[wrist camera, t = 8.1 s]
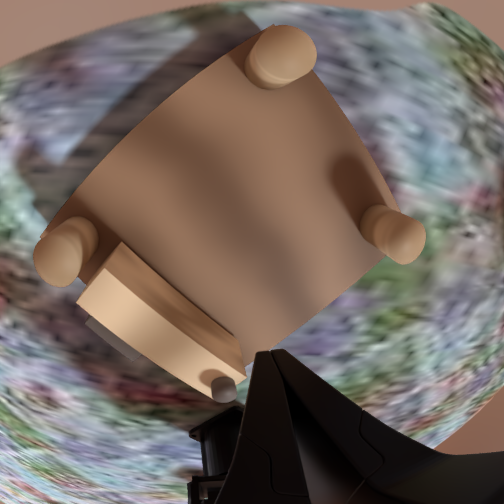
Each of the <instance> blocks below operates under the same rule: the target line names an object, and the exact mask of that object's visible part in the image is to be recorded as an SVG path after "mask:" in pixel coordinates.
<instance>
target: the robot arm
mask: <svg viewBox="0 0 504 504" xmlns="http://www.w3.org/2000/svg"><path fill="white" fill-rule="evenodd" d="M189 437H190V438H192V439H194V440H196V441H199V442H200V443H201V454H202V464H203V474H204V476H198V475H195V476H192V482H189V483H187V489H188V504H504V451H500V452H491V453H480V454H467V455H450V454H445V453H441V452H438V451H436V450H433V449H431V448H429V447H427V446H425V445H423V444H421V443H419V442H417V441H415V440H413V439H411V438H409V437H407V436H405V435H403V434H402V433H400V432H398V431H396V430H394V429H393V428H391V427H389V426H387V425H386V424H384V423H383V422H381V421H380V420H378V419H377V418H375V417H374V416H372V415H371V414H369V413H368V412H367V411H365V410H363V411H362V408H361V407H359V406H358V405H357V404H355V403H354V402H353V401H351V400H350V399H349V398H347V397H346V396H344V395H343V394H342V393H340V392H339V391H338V390H336V389H335V388H334V387H332V386H331V385H330V384H328V383H327V382H326V381H324V380H323V379H322V378H321V377H319V376H318V375H317V374H315V373H314V372H313V371H311V370H310V369H309V368H308V367H306V366H305V365H304V364H302V363H301V362H300V361H299V360H297V359H296V358H295V357H293V356H292V355H291V354H290V353H288V352H287V351H286V350H285V349H275V350H271V351H268V350H266V351H258V352H256V354H255V359H254V364H253V369H252V374H251V379H250V384H249V389H248V394H247V399H246V403H245V408H244V410H243V409H241V408H240V407H236V406H235V407H232V408H230V409H228V410H227V411H225V412H223V413H222V414H220V415H218V416H216V417H215V418H213V419H211V420H209V421H208V422H206V423H204V424H202V425H200V426H198V427H197V428H195V429H193V430H191V431H189ZM204 498H208V499H204Z"/></svg>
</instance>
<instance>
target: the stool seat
mask: <svg viewBox="0 0 504 504" xmlns="http://www.w3.org/2000/svg"><path fill="white" fill-rule="evenodd" d="M316 58H317V53H316V48H315V45H314V43H313V41H312V40H311V38H310V37H309V36H308V35H307V34H306V33H305V32H303V31H302V30H300V29H298V28H296V27H293V26H288V25H278V26H275V25H274V24H273V25H271V26H269V27H268V28H266V29H264V30H263V31H261V32H259V33H258V34H256V35H254V36H253V37H251V38H249V39H248V40H246V41H245V42H243V43H242V44H240V45H238V46H237V47H235V48H234V49H232V50H231V51H229V52H228V53H226V54H225V55H223V56H222V57H221V58H219V59H218V60H216V61H215V62H213V63H212V64H211V65H209V66H208V67H207V68H205V69H204V70H202V71H201V72H200V73H198V74H197V75H196V76H194V77H193V78H192V79H191V80H189V81H188V82H187V83H185V84H184V85H183V86H182V87H180V88H179V89H178V90H177V91H175V92H174V93H173V94H172V95H171V96H169V97H168V98H167V99H166V100H165V101H164V102H162V103H161V104H160V105H159V106H158V107H157V108H155V109H154V110H153V111H152V112H151V113H150V114H149V115H148V116H146V117H145V118H144V119H143V120H142V121H141V122H140V123H139V124H138V125H137V126H136V127H135V128H134V129H132V130H131V131H130V132H129V133H128V134H127V135H126V136H125V137H124V138H123V139H122V140H121V141H120V142H119V143H118V144H117V145H116V146H115V147H114V148H113V149H112V150H111V151H110V152H109V153H108V155H107V156H106V157H105V158H104V159H103V160H102V161H101V162H100V163H99V164H98V165H97V166H96V167H95V169H94V170H93V171H92V172H91V173H90V174H89V175H88V176H87V178H86V179H85V180H84V181H83V182H82V183H81V185H80V186H79V187H78V188H77V189H76V190H75V192H74V193H73V194H72V195H71V197H70V198H69V199H68V200H67V201H66V203H65V204H64V205H63V207H62V208H61V209H60V210H59V212H58V213H57V214H56V216H55V217H54V218H53V220H52V221H51V222H50V224H49V225H48V226H47V228H46V229H45V230H44V232H43V233H42V235H41V236H40V238H41V240H40V241H39V242H38V243H37V244H36V246H35V249H34V253H33V260H34V265H35V268H36V270H37V272H38V274H39V275H40V276H41V278H42V279H43V280H44V281H46V282H47V283H48V284H50V285H52V286H56V287H65V286H68V285H70V284H71V283H72V282H73V281H74V280H75V278H76V277H77V276H78V277H79V278H80V279H81V280H82V281H83V282H84V283H85V284H86V285H87V284H88V282H89V281H90V279H91V278H92V276H93V275H94V273H95V272H96V271H97V269H98V268H99V267H100V266H101V265H102V263H103V262H104V261H105V260H106V259H107V258H108V256H109V255H110V254H111V253H112V252H113V251H114V249H115V248H116V247H117V246H118V245H119V244H120V243H121V242H123V243H124V244H125V245H126V246H127V247H128V248H129V249H130V250H131V251H132V252H133V253H135V254H136V255H137V256H138V257H139V258H140V259H141V260H142V261H143V262H144V263H146V264H147V265H148V266H149V267H150V268H151V269H152V270H153V271H155V272H156V273H157V274H158V275H159V276H160V277H161V278H163V279H164V280H165V281H166V282H167V283H168V284H169V285H171V286H172V287H173V288H174V289H175V290H176V291H178V292H179V293H180V294H181V295H182V296H184V297H185V298H186V299H187V300H188V301H190V302H191V303H192V304H193V305H194V306H196V307H197V308H198V309H199V310H200V311H202V312H203V313H204V314H205V315H207V316H208V317H209V318H210V319H212V320H213V321H214V322H215V323H217V324H218V325H219V326H220V327H222V328H223V329H224V330H226V331H227V332H228V333H229V334H231V335H232V336H233V337H235V338H236V339H237V340H238V341H239V346H240V350H241V354H242V359H243V363H244V367H245V366H247V365H248V364H250V363H251V362H253V361H254V359H255V354H256V352H258V351H266V350H270V349H271V348H272V347H274V346H275V345H276V344H278V343H279V342H281V341H282V340H283V339H285V338H286V337H287V336H289V335H290V334H291V333H293V332H294V331H295V330H297V329H298V328H299V327H301V326H302V325H303V324H304V323H306V322H307V321H308V320H310V319H311V318H312V317H313V316H315V315H316V314H317V313H319V312H320V311H321V310H322V309H324V308H325V307H326V306H327V305H329V304H330V303H331V302H332V301H333V300H335V299H336V298H337V297H338V296H340V295H341V294H342V293H343V292H344V291H346V290H347V289H348V288H349V287H350V286H352V285H353V284H354V283H355V282H356V281H357V280H359V279H360V278H361V277H362V276H363V275H364V274H366V273H367V272H368V271H369V270H370V269H371V268H372V267H374V266H375V265H376V264H377V263H378V262H379V261H380V260H381V259H383V258H384V257H385V256H386V255H387V256H389V257H390V258H391V259H393V260H394V261H396V262H397V263H399V264H408V263H411V262H412V261H414V260H415V259H416V258H417V257H418V256H419V255H420V253H421V251H422V250H423V247H424V244H425V239H426V234H425V229H424V227H423V225H422V224H421V223H420V222H419V221H417V220H415V219H413V218H411V217H409V216H406V215H404V214H402V213H401V211H400V209H399V207H398V205H397V203H396V201H395V199H394V197H393V195H392V193H391V192H390V190H389V188H388V186H387V184H386V182H385V180H384V178H383V177H382V175H381V173H380V171H379V169H378V168H377V166H376V164H375V162H374V161H373V159H372V157H371V156H370V154H369V152H368V151H367V149H366V147H365V146H364V144H363V142H362V141H361V139H360V137H359V136H358V134H357V133H356V131H355V130H354V128H353V126H352V125H351V123H350V122H349V120H348V119H347V117H346V116H345V114H344V113H343V111H342V110H341V108H340V107H339V105H338V104H337V103H336V101H335V100H334V98H333V97H332V95H331V94H330V93H329V91H328V90H327V89H326V87H325V86H324V84H323V83H322V82H321V80H320V79H319V78H318V76H317V75H316V74H315V73H314V71H313V70H312V68H313V67H314V65H315V62H316ZM85 324H86V325H87V326H88V327H89V328H90V329H91V330H93V331H94V332H95V333H96V334H97V335H99V336H100V337H101V338H102V339H104V340H105V341H106V342H107V343H109V344H110V345H111V346H112V347H114V348H115V349H116V350H118V351H119V352H120V353H121V354H123V355H124V356H125V357H127V358H128V359H129V360H131V361H132V362H134V361H135V360H136V359H137V358H139V357H140V356H141V355H142V354H141V353H140V352H138V351H137V350H136V349H134V348H133V347H131V346H130V345H129V344H127V343H126V342H125V341H123V340H122V339H121V338H119V337H118V336H117V335H115V334H114V333H113V332H111V331H110V330H109V329H108V328H106V327H105V326H104V325H103V324H101V323H100V322H99V321H98V320H96V319H95V318H94V317H93V316H91V315H90V314H89V316H88V318H87V320H86V322H85Z"/></svg>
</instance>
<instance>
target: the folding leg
mask: <svg viewBox="0 0 504 504" xmlns="http://www.w3.org/2000/svg"><path fill="white" fill-rule="evenodd" d="M76 303H77V304H78V305H79V306H81V307H82V308H83V309H84V310H85V311H87V312H88V313H89V314H90V315H91V316H93V317H94V318H95V319H96V320H98V321H99V322H100V323H101V324H103V325H104V326H105V327H106V328H108V329H109V330H110V331H111V332H113V333H114V334H115V335H117V336H118V337H119V338H121V339H122V340H123V341H125V342H126V343H127V344H129V345H130V346H131V347H133V348H134V349H136V350H137V351H138V352H140V353H141V354H143V355H144V356H146V357H147V358H148V359H150V360H151V361H153V362H154V363H156V364H157V365H159V366H160V367H162V368H163V369H165V370H166V371H168V372H169V373H171V374H172V375H174V376H176V377H177V378H179V379H180V380H182V381H184V382H185V383H187V384H188V385H190V386H192V387H193V388H195V389H197V390H198V391H200V392H202V393H204V394H205V395H207V396H209V397H210V398H212V399H214V400H215V401H217V402H221V403H226V402H230V401H232V400H234V399H235V398H236V397H237V390H236V385H237V384H239V383H240V382H241V381H243V380H244V379H246V378H247V376H246V371H245V367H244V363H243V359H242V354H241V350H240V346H239V341H238V340H237V339H236V338H235V337H233V336H232V335H231V334H229V333H228V332H227V331H226V330H224V329H223V328H222V327H220V326H219V325H218V324H217V323H215V322H214V321H213V320H212V319H210V318H209V317H208V316H207V315H205V314H204V313H203V312H202V311H200V310H199V309H198V308H197V307H196V306H194V305H193V304H192V303H191V302H190V301H188V300H187V299H186V298H185V297H184V296H182V295H181V294H180V293H179V292H178V291H176V290H175V289H174V288H173V287H172V286H171V285H169V284H168V283H167V282H166V281H165V280H164V279H163V278H161V277H160V276H159V275H158V274H157V273H156V272H155V271H153V270H152V269H151V268H150V267H149V266H148V265H147V264H146V263H144V262H143V261H142V260H141V259H140V258H139V257H138V256H137V255H136V254H135V253H133V252H132V251H131V250H130V249H129V248H128V247H127V246H126V245H125V244H124V243H123V242H121V243H120V244H119V245H118V246H117V247H116V248H115V249H114V251H113V252H112V253H111V254H110V255H109V256H108V258H107V259H106V260H105V261H104V262H103V263H102V265H101V266H100V267H99V268H98V269H97V271H96V272H95V273H94V275H93V276H92V278H91V279H90V281H89V282H88V284H87V286H86V287H85V289H84V290H83V292H82V294H81V295H80V297H79V298H78V300H77V302H76Z"/></svg>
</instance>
